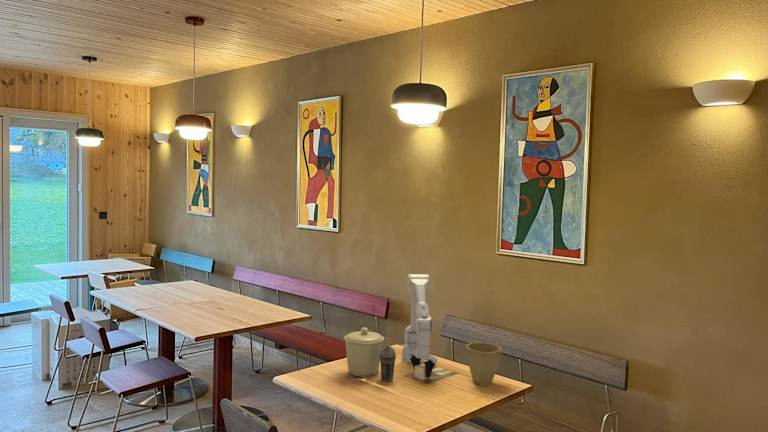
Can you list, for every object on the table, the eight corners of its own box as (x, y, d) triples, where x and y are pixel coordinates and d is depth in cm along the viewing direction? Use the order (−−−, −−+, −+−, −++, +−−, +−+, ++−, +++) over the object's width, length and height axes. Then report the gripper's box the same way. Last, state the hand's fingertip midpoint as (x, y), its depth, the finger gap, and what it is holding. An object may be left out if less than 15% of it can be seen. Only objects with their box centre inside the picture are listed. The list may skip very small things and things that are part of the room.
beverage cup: (396, 380, 243) (397, 334, 243) (394, 385, 236) (396, 339, 235) (379, 379, 244) (380, 334, 243) (377, 384, 237) (378, 338, 236)
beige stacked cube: (414, 377, 244) (414, 365, 244) (421, 374, 248) (422, 363, 248) (422, 380, 241) (423, 368, 241) (430, 377, 244) (430, 366, 244)
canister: (340, 368, 258) (342, 323, 257) (379, 366, 261) (380, 322, 260) (345, 381, 240) (347, 333, 239) (386, 379, 244) (388, 332, 243)
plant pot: (461, 385, 239) (462, 349, 238) (470, 375, 252) (471, 340, 252) (495, 391, 233) (497, 353, 232) (503, 381, 246) (504, 345, 245)
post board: (402, 378, 246) (403, 367, 246) (434, 368, 261) (435, 358, 261) (427, 386, 236) (427, 375, 236) (458, 375, 252) (459, 365, 251)
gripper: (405, 342, 246) (404, 373, 247) (430, 350, 236) (429, 381, 236) (415, 340, 251) (414, 369, 252) (440, 347, 241) (439, 378, 241)
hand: (422, 375), depth 244 cm, fingers open, 6 cm apart
